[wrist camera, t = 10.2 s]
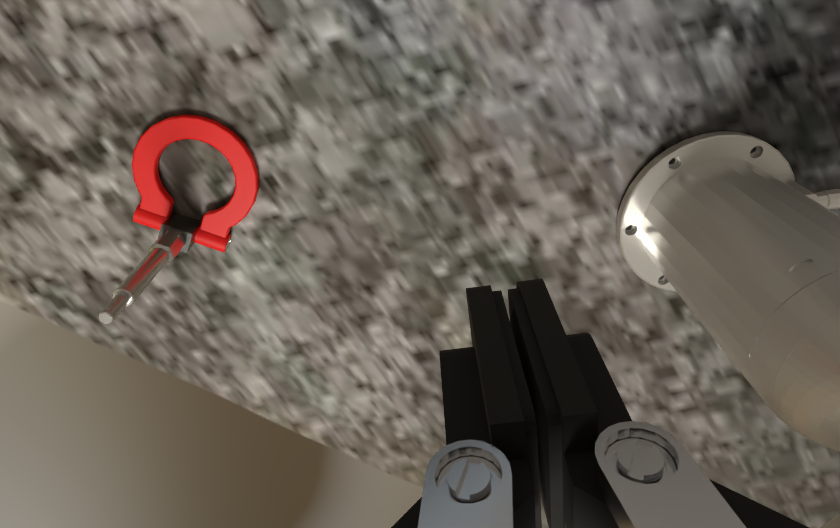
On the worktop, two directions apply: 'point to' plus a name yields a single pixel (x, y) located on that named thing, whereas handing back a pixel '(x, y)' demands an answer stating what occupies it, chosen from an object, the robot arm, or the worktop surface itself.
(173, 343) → the worktop surface
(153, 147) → the tow hook
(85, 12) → the worktop surface
